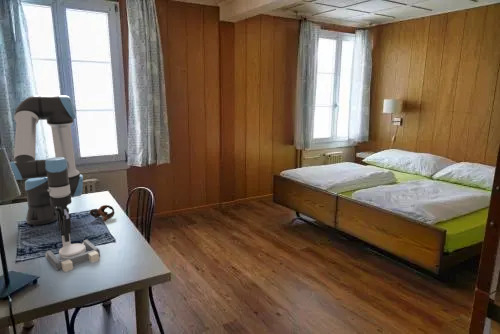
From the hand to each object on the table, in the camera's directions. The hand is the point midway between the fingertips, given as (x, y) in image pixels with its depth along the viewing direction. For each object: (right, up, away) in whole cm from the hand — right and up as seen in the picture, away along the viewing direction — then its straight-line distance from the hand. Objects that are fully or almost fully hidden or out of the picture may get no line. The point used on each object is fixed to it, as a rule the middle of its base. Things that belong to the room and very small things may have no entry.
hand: (67, 247), depth 143 cm
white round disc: (+4, -3, -3) cm, 6 cm away
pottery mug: (-1, +7, +36) cm, 37 cm away
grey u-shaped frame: (+6, -3, -5) cm, 8 cm away
